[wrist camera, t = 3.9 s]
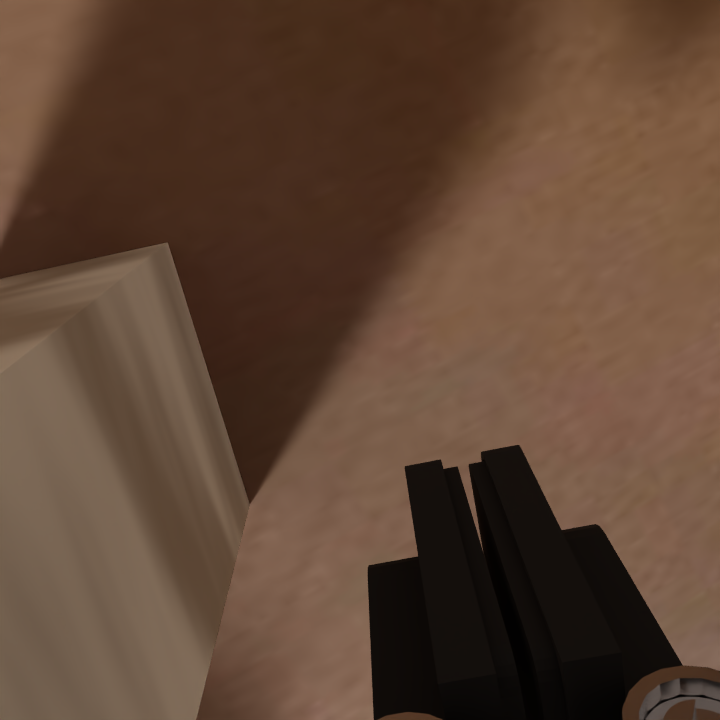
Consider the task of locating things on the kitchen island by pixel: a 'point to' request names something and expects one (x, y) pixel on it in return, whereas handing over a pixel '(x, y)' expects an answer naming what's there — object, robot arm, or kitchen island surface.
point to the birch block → (110, 494)
